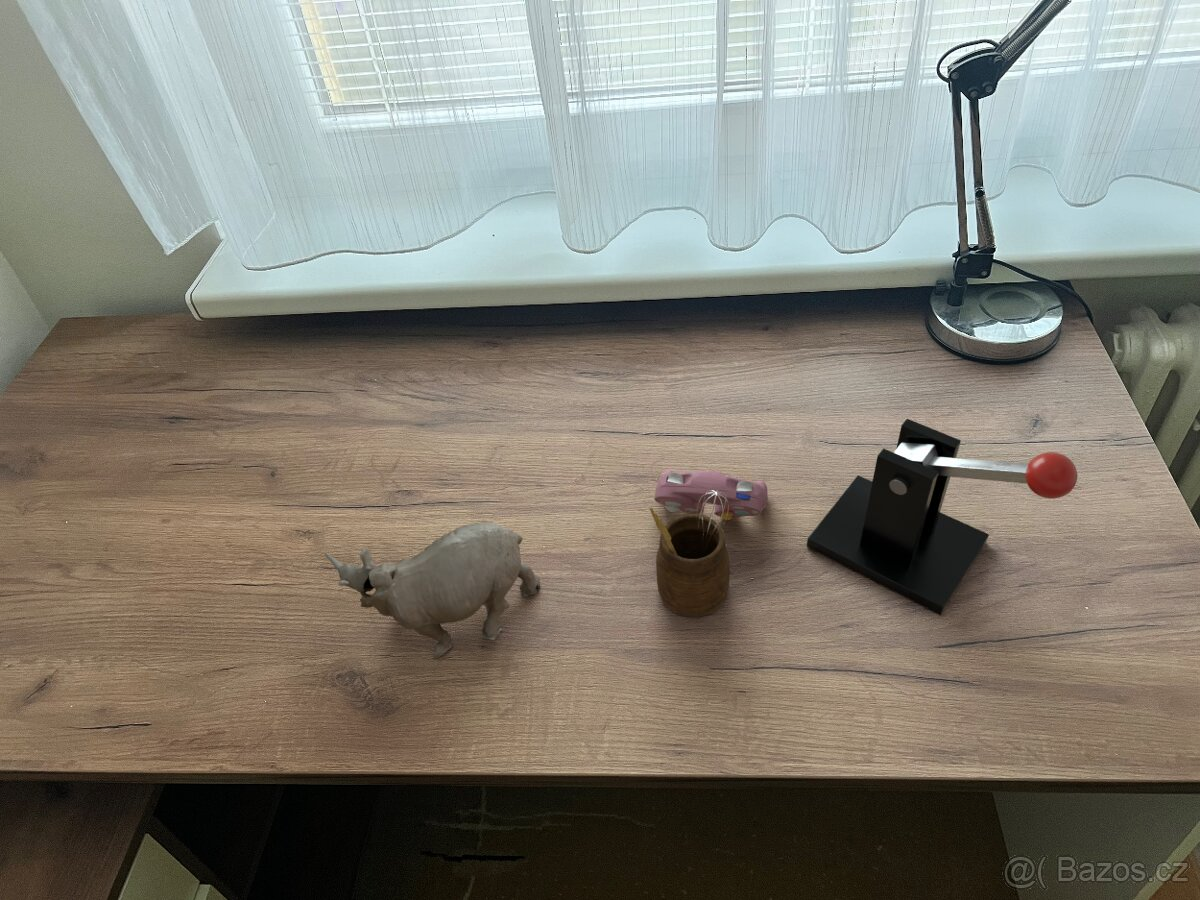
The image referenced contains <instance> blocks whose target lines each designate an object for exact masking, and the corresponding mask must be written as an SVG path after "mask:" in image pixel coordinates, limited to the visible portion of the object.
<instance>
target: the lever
mask: <svg viewBox="0 0 1200 900" xmlns="http://www.w3.org/2000/svg"><path fill="white" fill-rule="evenodd" d="M896 448H897V447H896ZM893 453H896V454H898V455H900V456H903V457H905V458H907V459H910V460H912V461H914V462H917V463H919V464H921V465H924V466H926V467H928V468H931V469H933V470H935V471H938V475H939V476H950V478H960V479H961V478H962V479H970V480H971V479H973V480H984V481H993V482H996V481H997V482H1003V483H1014V484H1015V483H1017V484H1027V486H1028V488H1029V489H1030V491H1032V492H1033V493H1034V494H1035V495H1037V496H1038V497H1041V498H1043V499H1049V500H1050V499H1051V500H1053V499H1054V500H1055V499H1059V498H1063V497H1065V496H1067V495H1068V494H1070V493H1071V492H1072V491H1073V490H1074V488H1075V486H1076V484H1077V481H1078V470H1077V467H1076V465H1075V463H1074V462H1073V461H1072V460H1071V459H1070V458H1069V457H1068V456H1067V455H1064V454H1062V453H1059V452H1053V451H1049V452H1042V453H1039V454H1038V455H1036V456H1034V457H1033V458H1031V460H1030V461H1029V462H1016V461H1015V462H1014V461H1001V460H1000V461H999V460H988V459H976V458H975V459H974V458H962V457H961V458H960V457H956V458H949V457H938V454H937V451H936V447H935V445H931V444H915V443H901V444H900V445H899V446H898V448H897V449H895V450H894V451H893Z"/></svg>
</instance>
